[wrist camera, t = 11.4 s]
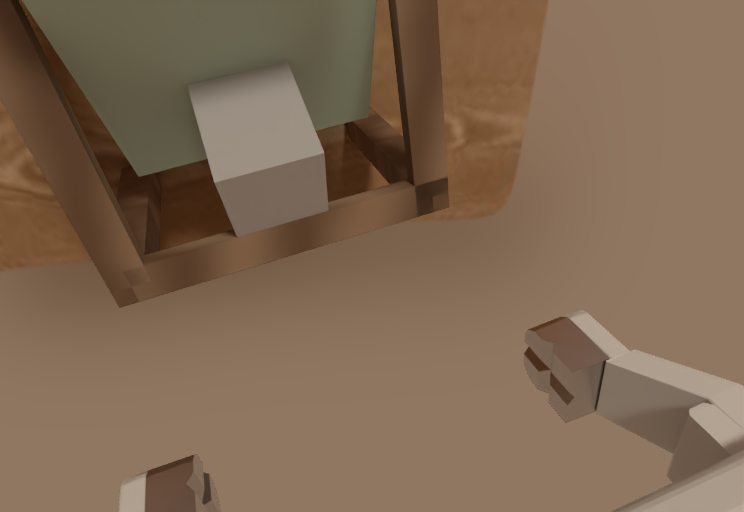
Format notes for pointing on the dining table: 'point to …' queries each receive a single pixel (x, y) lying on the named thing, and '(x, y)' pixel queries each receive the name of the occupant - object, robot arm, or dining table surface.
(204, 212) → the dining table surface
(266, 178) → the light grey block
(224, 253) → the stand
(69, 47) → the trapdoor
